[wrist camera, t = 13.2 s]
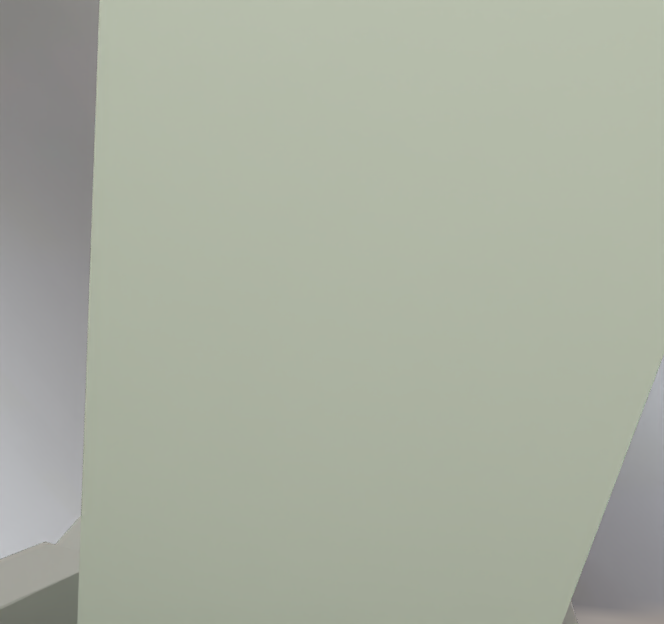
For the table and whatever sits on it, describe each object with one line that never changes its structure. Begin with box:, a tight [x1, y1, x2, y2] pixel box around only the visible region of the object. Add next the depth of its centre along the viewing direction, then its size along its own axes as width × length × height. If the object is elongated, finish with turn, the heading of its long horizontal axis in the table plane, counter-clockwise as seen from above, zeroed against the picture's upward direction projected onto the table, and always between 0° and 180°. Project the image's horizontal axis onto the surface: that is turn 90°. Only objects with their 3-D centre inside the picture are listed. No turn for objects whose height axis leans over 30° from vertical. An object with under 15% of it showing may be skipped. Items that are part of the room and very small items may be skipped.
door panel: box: [77, 0, 664, 624], centre depth 9 cm, size 3×14×8 cm, turn 171°
